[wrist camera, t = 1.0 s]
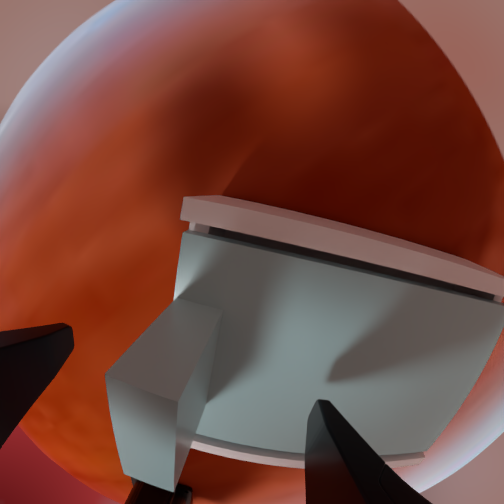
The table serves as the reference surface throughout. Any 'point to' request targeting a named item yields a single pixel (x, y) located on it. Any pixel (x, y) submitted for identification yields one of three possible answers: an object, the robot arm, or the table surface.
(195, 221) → the parts tub
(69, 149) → the table surface
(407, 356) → the lid
